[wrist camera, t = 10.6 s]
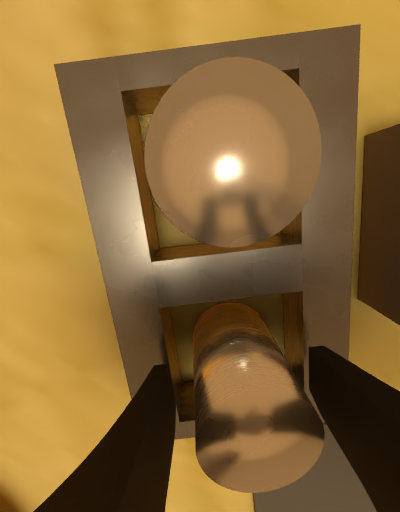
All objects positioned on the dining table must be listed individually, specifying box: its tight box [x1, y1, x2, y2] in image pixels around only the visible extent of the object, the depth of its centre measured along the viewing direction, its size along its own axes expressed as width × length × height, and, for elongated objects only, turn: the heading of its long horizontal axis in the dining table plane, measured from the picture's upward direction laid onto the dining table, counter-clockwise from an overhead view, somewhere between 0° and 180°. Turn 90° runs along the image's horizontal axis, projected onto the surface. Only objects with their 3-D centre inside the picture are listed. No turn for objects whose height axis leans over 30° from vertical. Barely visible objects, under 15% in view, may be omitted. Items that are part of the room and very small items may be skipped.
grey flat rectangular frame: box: [54, 24, 361, 439], centre depth 11 cm, size 10×16×2 cm, turn 7°
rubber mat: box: [253, 422, 377, 512], centre depth 16 cm, size 9×9×1 cm
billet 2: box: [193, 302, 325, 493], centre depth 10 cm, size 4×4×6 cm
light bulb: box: [144, 57, 322, 247], centre depth 8 cm, size 4×4×6 cm
